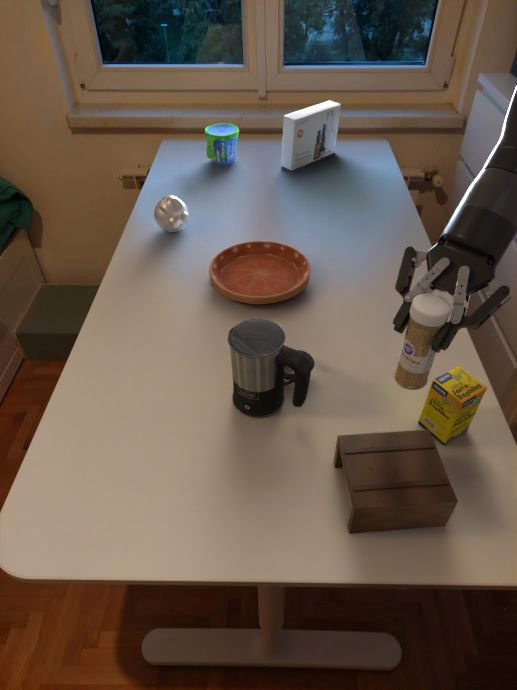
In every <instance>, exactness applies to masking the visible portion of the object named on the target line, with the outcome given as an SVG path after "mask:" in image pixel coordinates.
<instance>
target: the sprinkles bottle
mask: <svg viewBox="0 0 517 690" xmlns="http://www.w3.org/2000/svg"><path fill="white" fill-rule="evenodd" d="M451 312H452V305H451V303H450V301H449V300H448V299H447V298H445V297H444V296H442V295H440V294H437V293H434V292H433V293H423V294H420V295H417V296H416V297H415V298H414V299H413V301H412V304H411V308H410V319H409V322H408V325H407V327H406V328H405V334H404V338H403V340H402V343H401V347H400V351H399V354H398V361H397V365H396V369H395V371H394V372H393V377H394V380H395V382H396V384H397V385H399V386H400V387H401V388H403V389H405V390H409V391H416V390H420V389H423V388H424V387H426V386H427V383H428V381H429V380H428V379H429V374H430V372H431V369H432V367H433V364H434V361H435V357H436V355H437V352H435V351H433V350H432V349H431V346H432V344H433V343H434V341H435V339H436V338H437V336H438V334H439V333H440V331H441V329H442V327H443V326H444V324H445V322H449V319H450V318H449V317H450V316H451Z"/></svg>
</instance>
